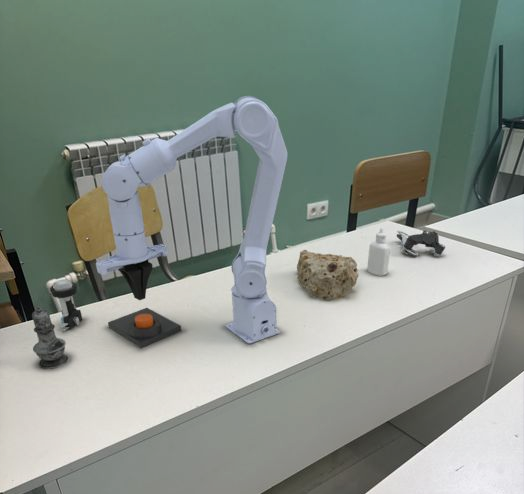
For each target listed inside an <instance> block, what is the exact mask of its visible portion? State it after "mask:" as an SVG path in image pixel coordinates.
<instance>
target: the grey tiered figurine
mask: <svg viewBox="0 0 524 494" xmlns="http://www.w3.org/2000/svg"><path fill="white" fill-rule="evenodd" d="M31 317H32V320H33V321H32V322H33V324H34V328H33V332H35V333H36V335H37V339H38V342H37V343H35V344H34V345H33V346H32V351H33V352H34V353H35V354H36V356H37V357H38V358H39V359H41V360H40V361H38V362H39V363H38V365H39V367H40V368H41V369H44V370H45V369H46V370H53V369H57V368H58V367H61V366H63V365H65V364H66V363H68V360H69V356H68V355H66V354H64V353H65V349H66V343H67V342H66V341H65V339H63V338H60V337H57V336H56V332H55V328H56V327H55V324H53V323H52V320H51V316H50V312H49V311H48V310H47V309H44V308H41V306H40V305H37V306H36V310H34V311H32V313H31Z"/></svg>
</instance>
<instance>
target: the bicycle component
mask: <svg viewBox="0 0 524 494" xmlns="http://www.w3.org/2000/svg"><path fill="white" fill-rule="evenodd" d="M396 232H397V234H396V238H397V239H398V240H399V241H400V244H399V249H400V251H401V252H402V253H404V254H406V255H409V256H415V257H417V256H419V253H418V252H417V251H416V250H415V249H413V247H414V246H417V245H425V246H424V247H425V248H431V249H429V252H430V253H431V254H433V256H434V257H438V256H441V255H442V254H443V252H444V251H445V249H446V245H444V244H442V243H440V240H439V238H440V237H439V235H438V232H436V231H428V232H427V230H423V231H422V233H417V234H411V235H409V234H408V233H407V232H404V231H401V230H397V231H396Z"/></svg>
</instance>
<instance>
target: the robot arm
mask: <svg viewBox="0 0 524 494" xmlns="http://www.w3.org/2000/svg"><path fill="white" fill-rule="evenodd" d="M234 131H236V132H237V134H238V135H239V136H240V137H241V138H242V139H243V140H244V141H245V142H246V143H248V144H249V145H250V146H251V147H252V149H253V150H254V152H255V154H256V155H257V157H258V159H259V160H258V165H257V169H256V174H255V179H254V184H253V190H252V195H251V199H250V204H249V208H248V214H247V220H246V222H245V223H246V224H245V229H244V233H243V238H242V242H241V244H240V245H239V250H238V253H237V254H236V256H235V257H234V259H233V260H232V262H231V272H232V276H233V286H232V287H231V306H232V321H233V322H230V323H229V322H228V323H227V324H225V328H226V329H228V330H229V331H231V332H232V333H233V334H235V335H236V336H237V337H239V338H240V339H241V340H243V341H244V342H246V343H247V344H248V345H249V344H253V343H257V342H259V341H261V340H264V339H268V338H270V337H274V336H275V335H277V334H280V332H281V331H280V330H279V329H278V328H277V305H276V304H275V302H274V301H273V300H272V299H271V298H270V297H269V294H268V291H267V283H268V282H267V281H268V280H267V276H266V267H267V248H268V246H269V240H270V235H271V231H272V227H273V222H274V219H275V215H276V209H277V206H278V201H279V197H280V193H281V188H282V184H283V180H284V174H285V170H286V165H287V161H288V154H289V153H288V149H287V146H286V143H285V140H284V137H283V134H282V131H281V128H280V124H279V120H278V118H277V116H276V115H275V114H274V113H273V111H272V110H271V109H270V107H269V106H268V105H267V104H266V103H265V102H264V101H262V100H260V99H259V98H256V97H255V96H252V95H245V96H241V97H240V98H238V99H237V100H236V101H235V102H229V103H227V104H224V105H222V106H220V107H217V108H216V109H214V110H212V111H211V112H209V113H207V114H206V115H204V116H203V117H201V118H200V119H199V120H197V121H195V122H194V123H192V124H190V125H189V126H188V127H186V128H185V129H184V130H182V131H180V132H178V133H177V134H176V135H174V136H172V137H171V138H170V139H167V140H165V139H161V138H158V137H155V138H153V139H152V140H151V138H149V137H148V138H146V139H145V140H143V141H142V146H141V147H138V149H136V150H133V152H130V153H129V154H128V155H126V154H125V153H123V154H122V155H119V160H120V161H119V160H118V161H115V162H113V163H111V164H110V165H109V166H108V167H107V168H106V170H105V171H104V172H103V174H102V177H101V187H102V189H103V192H104V193H105V194H106V196H107V203H108V205H109V207H108V211H109V217H110V223H111V229H112V235H113V238H114V239H113V240H114V245H115V249H116V253H115V254H113V255H111V256H109V257H107V258H105V259H103V260H100V261H97V262H95V267H96V272H97V273H98V274H99V275H101V276H105V275H108V273H110V272H114V271H117V270H118V271H119V273H120V274H121V275H122V277H123V278H124V280H125V281H126V282H127V285H128V286H129V289H130V291H131V292H132V295H133V298H134V299H136V300H138V301H142V300H145V299H146V295H147V286H148V282H149V278H150V275H151V274H152V271H153V269H154V267H153V263H151V262H149V261H150V260H153V259H156V258H160V257H167V256H169V252H168V245H165V244H163V243H159V244H156V245H149V246H148V244H147V237H146V231H145V224H144V223H145V222H144V216H143V210H142V204H141V203H140V196H139V191H138V188H146V187H147V186H149V185H150V184H152V183H153V182H155V181H157V180H159V179H160V178H162V177H163V176H166V175H167V174H168V173H170V172H172V171H173V170H175V169H176V165H177V160H178V158H180V157H182V156H184V155H185V154H187V153H189V152H191V151H193V150H195V149H196V148H198V147H201V145H203V144H206V143H207V142H209V141H211V140H212V139H214V138H217V137H220V138H232V139H234V138H235V134H234Z"/></svg>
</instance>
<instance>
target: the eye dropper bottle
mask: <svg viewBox="0 0 524 494" xmlns="http://www.w3.org/2000/svg"><path fill="white" fill-rule="evenodd" d="M386 238H387V233H385V232H384V228H380V229H379V232H377V233H376V235H375V241H372V242H370V244H369V248H368V258H367V268H366V270H367V272H368V273H369V274H372V275H375V276H378V277H383V276H386V275H387V274H388V270H389V261H390V252H391V247H390V246H389V245H388V244H387V243H386Z"/></svg>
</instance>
